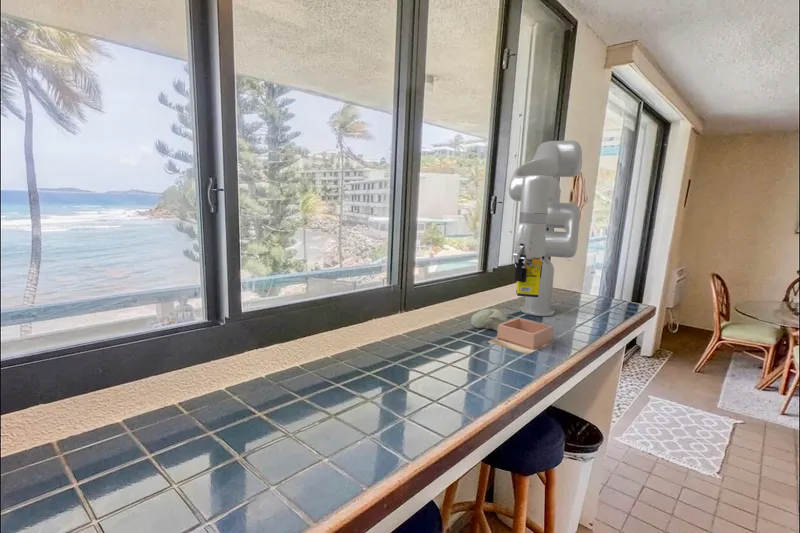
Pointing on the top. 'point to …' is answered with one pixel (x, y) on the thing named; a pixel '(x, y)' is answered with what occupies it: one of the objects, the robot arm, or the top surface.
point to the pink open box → (525, 333)
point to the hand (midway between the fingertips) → (528, 279)
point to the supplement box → (530, 279)
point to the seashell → (488, 319)
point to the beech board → (515, 346)
